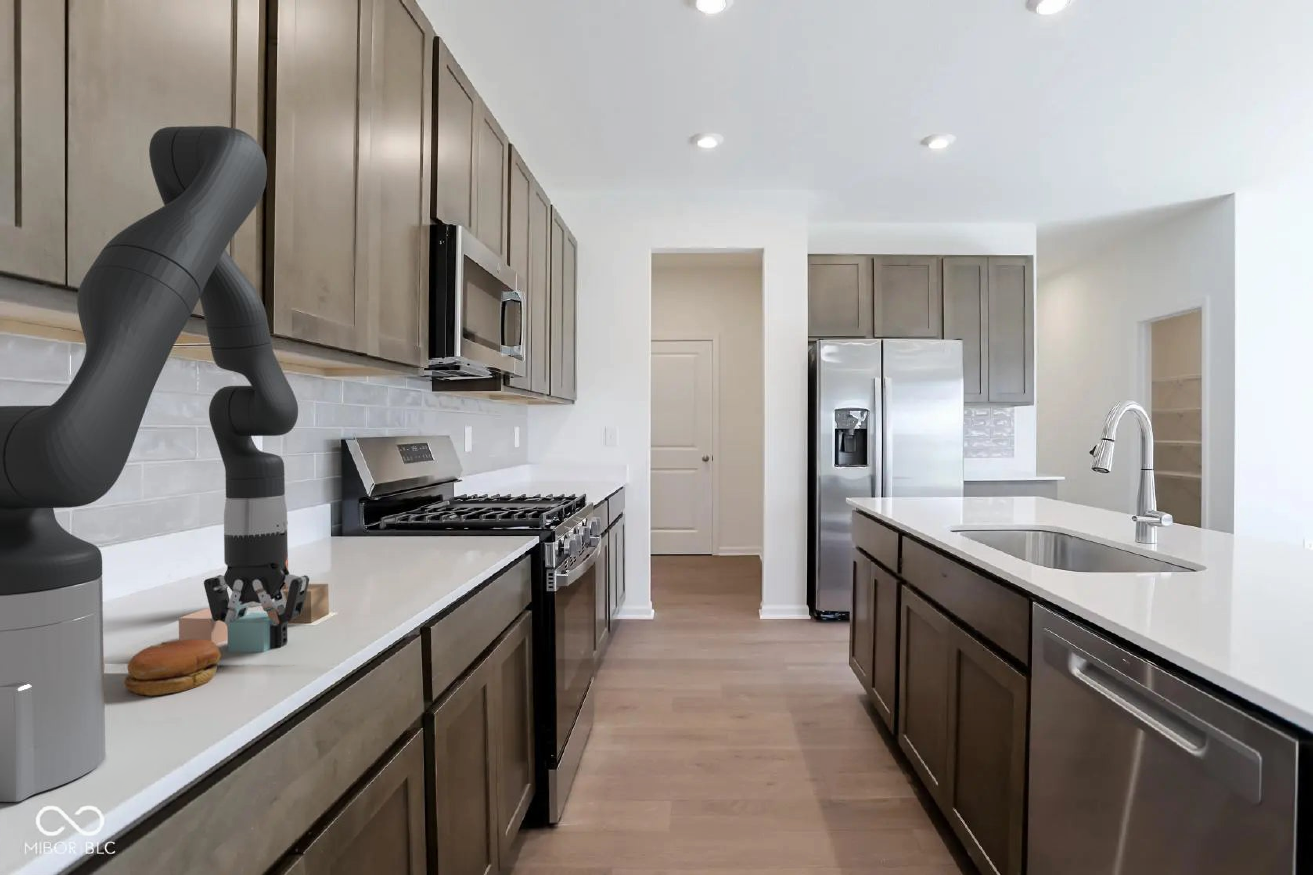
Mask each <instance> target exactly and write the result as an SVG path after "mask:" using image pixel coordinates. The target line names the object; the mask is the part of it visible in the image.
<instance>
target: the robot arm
mask: <svg viewBox="0 0 1313 875" xmlns="http://www.w3.org/2000/svg"><path fill="white" fill-rule="evenodd" d="M149 142H150V143H149V148H148V150H149V151H148V152H149V154H148V155H149V156H148V157H149V161H150V167H151V171H152V175H153V178H154V181H155V184H156V187H157V191H158V192H159V195H160V198H161V200H162V203H163V206H162V207H160V208H159V209H157V210H154V211H153V212H150V213H149V214H147V215H146V216H144V217H142V218H140V219H139V220H137V221H135V222H133V223H132V224H130V225H129V226H127V227H126V228H124V229H123V230H121V231H120V232H119V233H117V234H116V235H114V236H113V238H111V240H109V241H108V242H107V243H106V245H105V246H104V247H103V248H102V250H101V251H100V252H99V255H98V256H97V257H96V258H95V260H94V262H93V263H92V265H91V266H90V268H89V269H88V271H87V272H86V274H85V275H84V277H83V279H82V281H81V283H80V285H79V287H78V290H77V295H76V296H77V297H76V306H77V307H76V308H77V314H78V319H79V324H80V327H81V330H82V334H83V337H84V341H85V354H84V357H83V360H82V363H81V364H80V367H79V369H78V371H77V372H76V374H75V376H74V378H73V379H72V381H71V383H70V384H69V386H68V387H67V388H66V389H65V391H64V392H63V394H62V395H61V396H60V397H59V398H58V399H57V400H56V401H55V402H54V403H52V404H51V405H0V802H7V803H8V802H10V803H12V802H14V803H17V802H18V803H19V802H22V801H24V800H26V799H27V798H29V797H30V796H33V795H35V794H38V793H42V792H45V791H47V790H51V789H54V788H57V787H60V786H62V785H64V784H68V783H70V782H72V781H74V780H76V779H79V778H80V777H82V776H84V775H87V774H88V773H89V772H92V771H93V770H94V769H96V768H98V767H99V766H100V765H101V764H102V763H103V762H104V760H105V758H106V757H107V756H106V719H105V718H106V715H105V714H106V713H105V712H106V711H105V709H106V707H105V706H106V704H105V667H104V665H105V664H104V662H105V661H104V655H105V654H104V652H105V651H104V615H103V614H104V610H103V607H104V606H103V604H104V602H103V599H104V598H103V556H102V551H101V549H100V548H99V547H98V546H97V545H95V544H93V543H92V542H89V541H86V540H83V539H81V538H80V537H76V535H75V536H74V534H71V533H70V532H68V531H67V530H66V529H65V528H63V527H62V526H61V524H60V523H59V522H58V521H57V518H56V515H55V509H67V508H68V509H69V508H77V507H78V508H79V507H83V506H87V505H89V504H92V503H94V502H96V501H98V500H99V499H101V498H102V497H104V496H105V495H106V494H107V493H109V491H110V490H111V489H112V488H113V486H114V485H115V484H116V483H117V481H118V479H119V477H120V475H121V474H122V472H123V470H124V468H125V465H126V463H127V461H128V458H129V456H130V453H131V450H132V448H133V446H134V443H135V440H136V437H137V434H138V431H139V429H140V427H141V422H142V420H143V418H144V415H145V411H146V410H147V409H146V408H147V407H148V403H149V401H150V399H151V395H152V394H153V391H154V388H155V386H156V384H157V381H158V380H159V377H160V375H161V373H162V371H163V368H164V367H165V365H166V362H167V361H168V358H169V356H170V354H171V352H172V350H173V348H174V346H175V344H176V341H178V338H179V336H180V334H181V332H182V331H183V330H184V328H185V326H186V325H187V323H188V321H189V320H190V317H191V315H192V313H193V312H194V310H195V308H196V306H197V304H198V303H199V301H200V304H201V309H202V312H203V317H204V322H205V326H206V331H207V335H208V342H209V346H210V349H211V355H212V357H213V358H212V359H213V362H214V363H215V365H216V366H217V367H219V368H220V369H222V370H225V371H229V372H234V373H238V374H240V375H242V376H243V377H245V378H246V380H247V382H249V384H250V385H227V386H224V387H221V388H220V389H218V390H217V391H216V392H214V395H213V396H212V398H211V401H210V402H209V405H208V406H209V407H208V418H209V422H210V426H211V429H212V432H213V435H214V438H215V441H216V443H217V447H218V450H219V453H220V456H221V459H222V463H223V465H224V472H225V477H224V478H225V502H224V503H225V504H224V512H223V546H224V547H223V548H224V549H223V550H224V551H223V553H224V559H223V560H224V564H225V565H226V571H225V573H224V575H221V574H219V575H215V576H213V577H209V578H206V579H204V580H203V586H204V590H205V594H206V598H207V602H208V606H209V608H210V611H211V615H212V618H213V620H214V621H219V620H220V621H222V622H225V624H226V625H227V623H229V622H231V621H234V620H236V619H238V618H241V617H243V616H245V615H247V612H248V610H249V608H250V607H249V606H250V605H251V604H252V602H256V603H261V605H262V606H261V608H262V610H263V611H264V612H265V613H267V614H268V616H269V619H270V622H271V624H272V626H270V649H271V650H272V649H273V650H274V649H280V648H282V647H285V646H286V645H287V644H288V640H289V639H288V625H287V623H288V621H291V620H292V619H294V618H296V617H299V616H301V614H302V611H303V606H304V602H305V597H306V593H307V588H308V584H310V577H309V576H308V575H305V574H304V575H301V576H299V575H294V574H291V573H290V572H289V571H290V570H289V568H288V569H287V567H286V561H287V557H288V556H289V555H288V553H289V549H288V548H289V547H288V546H289V545H288V524H289V523H288V508H287V503H286V495H285V494H286V493H285V491H286V490H285V489H286V487H285V484H286V483H285V480H286V479H285V473H286V472H285V462H284V459H283V458H282V456H280V455H278V454H275V453H270V452H265V451H261V450H259V449H258V447H257V446H256V444H255V441H253V437H277V436H284V435H286V434H288V433H289V432H291V431H292V430H293V429H294V427H295V425H296V423H297V421H298V418H299V406H298V401H297V397H296V396H295V394H294V391H293V388H292V387H291V385H290V384H289V381H288V380H287V378H286V375H285V374H284V371H283V370H282V367H281V365H280V363H279V361H278V359H277V357H276V355H275V353H274V349H273V343H272V338H271V332H270V328H269V323H268V316H267V312H266V308H265V306H264V304H263V303H264V302H263V300H262V298H261V297H260V295H259V293H258V291H257V290H256V288H255V287H254V286H253V284H252V283H251V281H250V280H249V278H247V276H246V275H245V273H243V271H242V270H241V269H240V268H239V266H238V265H237V264H236V262H235V261H234V260H233V259H232V257H231V256H230V254H229V253H228V252H227V250H226V248H227V246H229V244H230V242H231V240H232V239H233V238H234V236H235V235H236V233H237V232H238V231H239V229H240V228H241V226H243V224H244V223H245V221H246V220H247V218H248V217H249V216H250V214H251V213H252V212H253V211H254V209H255V208H256V206H257V205H258V203H259V201H260V200H261V198H262V197H263V193H264V191H265V188H266V183H267V178H268V167H267V159H266V157H265V153H264V151H263V149H262V147H261V146H260V144H259V142H258V141H257V140H256V139H255V138H254V137H253V136H251V135H250V134H249V133H247V132H245V131H244V130H241V129H238V128H235V127H230V126H229V127H228V126H223V125H221V126H220V125H203V126H202V125H198V126H197V125H193V126H192V125H190V126H189V125H188V126H186V125H185V126H182V125H181V126H167V127H162V128H160V129H158V130H157V131H156V132H154V134H153V135H152V137H151V138H150V141H149ZM285 583H286V584H287V588H286V589H287V591H289V593H288V598H287V602H286V598H285V595H284V592H283V590H282V588H283V586H284V585H285ZM228 588H229V590H231V591H232V592H231V595H229V592H228ZM229 596H230V597H229ZM272 599H275V600H274V602H273V601H272ZM227 632H228V629H227ZM270 649H269V650H270Z"/></svg>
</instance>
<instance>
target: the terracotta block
mask: <svg viewBox="0 0 1313 875" xmlns="http://www.w3.org/2000/svg"><path fill="white" fill-rule="evenodd" d="M192 639H204V640H209V641H211V642H214V643H215V645H216V646H217V645H219V644H221V643H224V642H226V641H228V632H227V625H226V624H225V622H222V621H220V620H219V621H214V620H213V618H212V615H211V611H210V607H209V608H204V609H202V610H198V611H196V612H191V613H188V614H186V615H184V616H180V617H178V641H182V640H192Z"/></svg>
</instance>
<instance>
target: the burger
mask: <svg viewBox="0 0 1313 875" xmlns="http://www.w3.org/2000/svg"><path fill="white" fill-rule="evenodd" d="M221 656H222V655H221V651H220V649H219V647H218V646H217V644H216V645H215V643H214V642H211V641H209V640H204V639H192V640H182V641H179V640H175V641H173V640H172V641H164V642H163V641H162V642H161V643H159V644H157V645H151V646H149V647H146V648H144V649H143V650H140V651H139V652H137V653H136V654H134V655H133V657H132V658H130V660H129V662H128V665H127V672H128V675H127V676H125V678H124V681H123V682H124V684H125V688H126V690H128V691H130V692H134V693H135V694H137V695H140V696H141V695H144V696H145V695H146V696H148V697H149V696H150V697H151V696H152V697H153V696H162V695H163V696H164V695H168V694H171V693H180V692H185V691H186V692H187V691H189V690H192V689H195V688H198V687H202V686H203V685H205V684H208V683H210V681H211V680H212V679H213V678H214V676H215V674H216V672H217V670H218V662H219V660H221Z"/></svg>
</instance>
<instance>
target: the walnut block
mask: <svg viewBox="0 0 1313 875" xmlns="http://www.w3.org/2000/svg"><path fill="white" fill-rule="evenodd" d="M329 591H330V590H329V583H309V584H308V588H307V593H306V597H305V602H304V606H303V611H302V614H301V616H299V617H296V618H294V619H292V620H291V621H288V623H313V622H315V621H317V620H319V619H321V618H322V617H324V616H326V615H328V614H329V611H330V610H329V609H330V608H329V607H330V603H329V600H330V599H329V598H330V597H329ZM283 592H284V595H285V598H286V602H287V598H288V593H289V591H287V589H284V590H283Z"/></svg>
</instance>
